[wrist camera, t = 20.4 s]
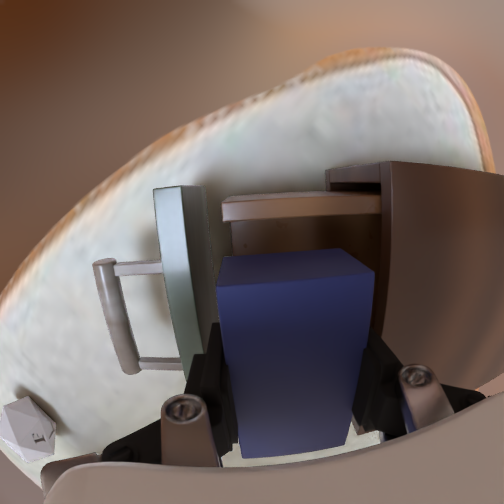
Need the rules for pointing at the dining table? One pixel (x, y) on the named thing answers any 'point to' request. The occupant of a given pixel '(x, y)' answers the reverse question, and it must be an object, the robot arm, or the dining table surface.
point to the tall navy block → (294, 346)
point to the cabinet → (438, 266)
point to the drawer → (243, 243)
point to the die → (27, 430)
